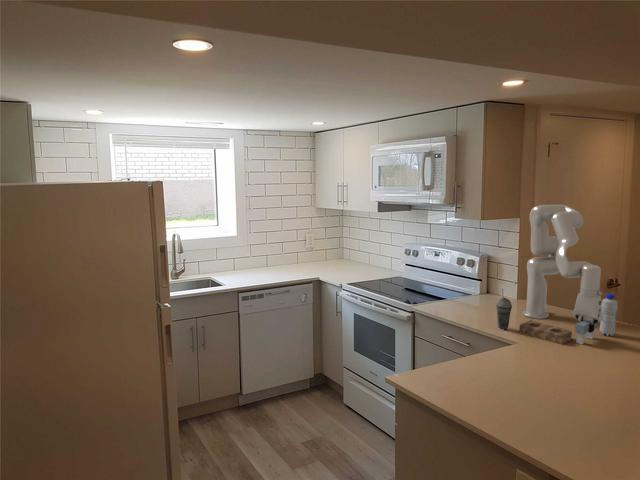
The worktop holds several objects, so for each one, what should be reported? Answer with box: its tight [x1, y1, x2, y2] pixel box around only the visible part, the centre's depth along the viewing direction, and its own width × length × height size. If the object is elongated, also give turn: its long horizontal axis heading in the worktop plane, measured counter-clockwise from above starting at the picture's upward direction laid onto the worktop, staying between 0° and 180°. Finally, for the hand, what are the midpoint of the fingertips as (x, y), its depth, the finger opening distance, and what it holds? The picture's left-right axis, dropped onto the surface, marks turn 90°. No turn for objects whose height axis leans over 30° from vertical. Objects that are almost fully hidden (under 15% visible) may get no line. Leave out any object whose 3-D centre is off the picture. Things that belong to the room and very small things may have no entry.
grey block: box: [574, 317, 598, 345], centre depth 217 cm, size 14×4×9 cm, turn 128°
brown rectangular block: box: [518, 320, 573, 345], centre depth 224 cm, size 20×10×4 cm, turn 38°
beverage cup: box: [495, 288, 513, 330], centre depth 233 cm, size 7×7×20 cm
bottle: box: [599, 293, 619, 337], centre depth 224 cm, size 7×7×20 cm
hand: (586, 330), depth 217 cm, fingers closed on grey block, 3 cm apart
